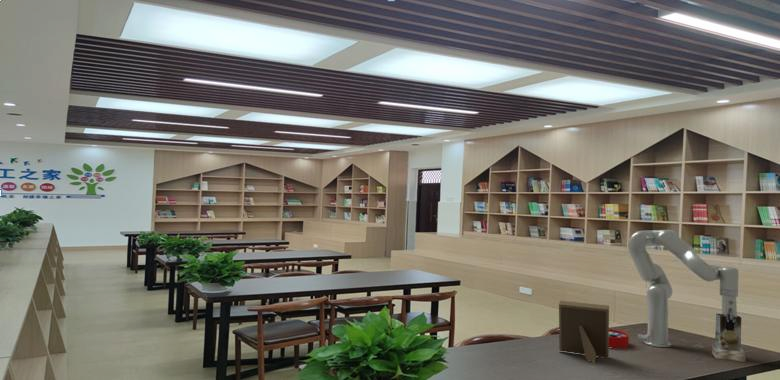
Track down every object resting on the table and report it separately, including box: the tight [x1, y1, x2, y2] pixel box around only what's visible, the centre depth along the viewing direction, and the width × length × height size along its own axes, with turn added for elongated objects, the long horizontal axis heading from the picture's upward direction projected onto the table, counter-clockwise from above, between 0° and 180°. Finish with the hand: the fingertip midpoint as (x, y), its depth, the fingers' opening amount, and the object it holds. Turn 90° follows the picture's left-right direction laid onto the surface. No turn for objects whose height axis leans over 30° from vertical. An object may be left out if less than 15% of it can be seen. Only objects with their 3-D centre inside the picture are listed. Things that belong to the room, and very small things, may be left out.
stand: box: [711, 344, 747, 363], centre depth 254 cm, size 12×11×4 cm
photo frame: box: [558, 300, 610, 363], centre depth 246 cm, size 15×22×25 cm
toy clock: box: [609, 328, 630, 349], centre depth 274 cm, size 20×6×20 cm
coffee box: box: [714, 313, 742, 351], centre depth 254 cm, size 9×6×16 cm
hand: (728, 328), depth 255 cm, fingers open, 9 cm apart
